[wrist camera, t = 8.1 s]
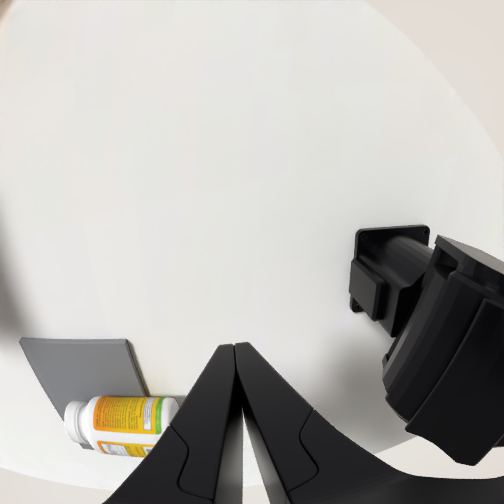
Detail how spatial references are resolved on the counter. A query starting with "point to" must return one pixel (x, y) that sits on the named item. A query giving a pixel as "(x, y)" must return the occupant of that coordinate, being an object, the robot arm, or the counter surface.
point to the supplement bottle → (120, 423)
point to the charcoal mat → (82, 370)
